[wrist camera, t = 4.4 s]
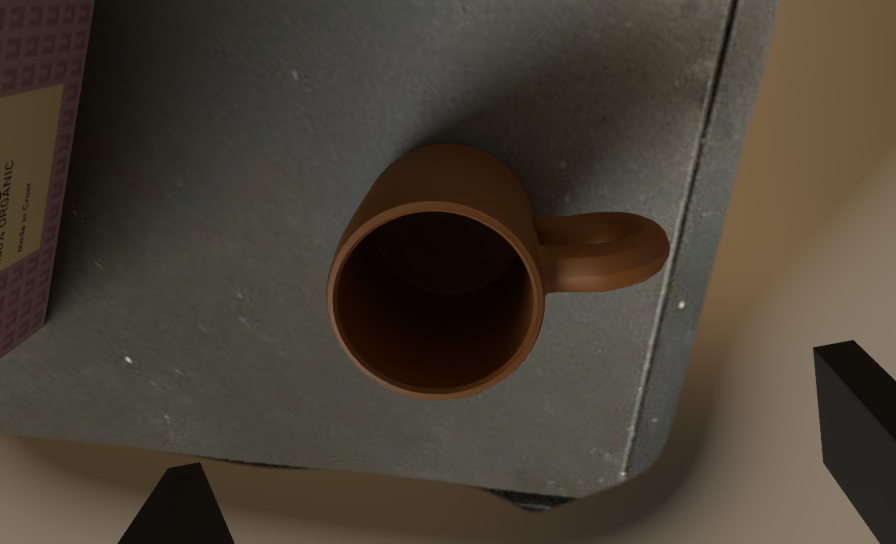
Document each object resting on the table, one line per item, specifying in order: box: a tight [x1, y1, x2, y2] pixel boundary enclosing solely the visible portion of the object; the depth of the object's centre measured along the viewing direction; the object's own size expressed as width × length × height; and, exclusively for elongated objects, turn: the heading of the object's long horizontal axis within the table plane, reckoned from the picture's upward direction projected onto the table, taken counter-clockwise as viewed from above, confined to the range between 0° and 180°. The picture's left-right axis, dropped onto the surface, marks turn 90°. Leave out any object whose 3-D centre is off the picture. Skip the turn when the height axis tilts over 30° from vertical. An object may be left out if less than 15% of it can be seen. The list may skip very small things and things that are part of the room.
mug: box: [326, 144, 670, 400], centre depth 29 cm, size 12×8×9 cm, turn 102°
